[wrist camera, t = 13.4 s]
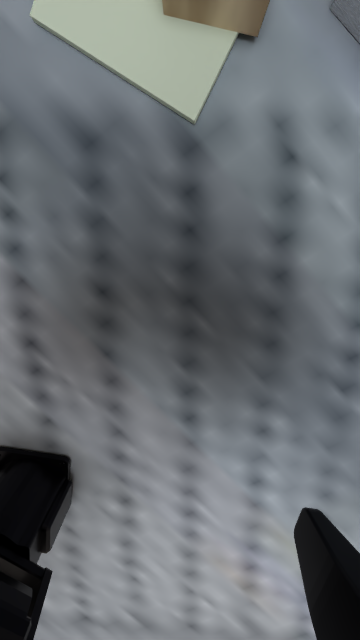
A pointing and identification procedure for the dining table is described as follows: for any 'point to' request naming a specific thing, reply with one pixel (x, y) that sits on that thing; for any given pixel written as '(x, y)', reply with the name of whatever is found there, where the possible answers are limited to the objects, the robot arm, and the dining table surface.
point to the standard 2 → (348, 15)
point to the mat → (143, 46)
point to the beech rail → (220, 13)
